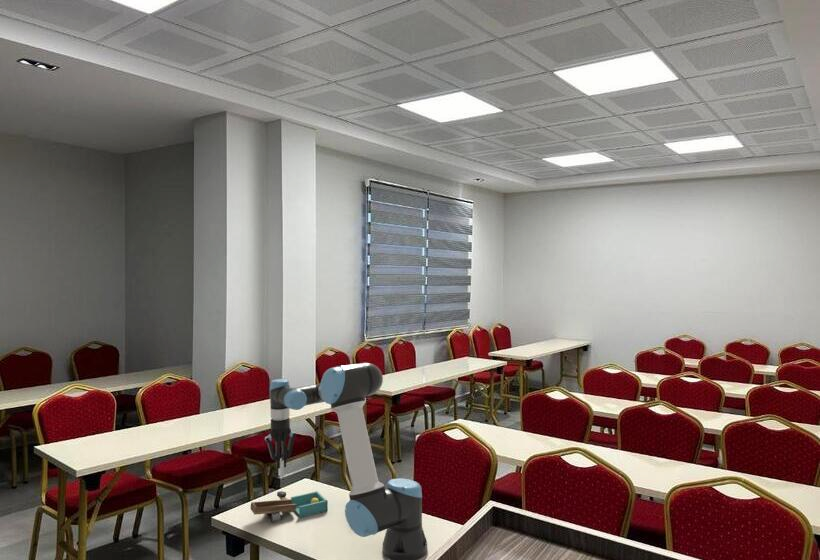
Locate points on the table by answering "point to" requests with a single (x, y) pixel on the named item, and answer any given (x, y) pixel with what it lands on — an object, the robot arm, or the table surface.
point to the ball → (314, 500)
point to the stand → (274, 517)
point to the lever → (273, 505)
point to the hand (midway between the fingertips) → (281, 475)
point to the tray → (309, 504)
